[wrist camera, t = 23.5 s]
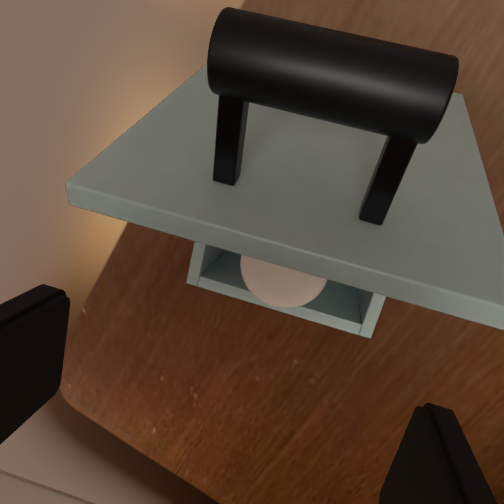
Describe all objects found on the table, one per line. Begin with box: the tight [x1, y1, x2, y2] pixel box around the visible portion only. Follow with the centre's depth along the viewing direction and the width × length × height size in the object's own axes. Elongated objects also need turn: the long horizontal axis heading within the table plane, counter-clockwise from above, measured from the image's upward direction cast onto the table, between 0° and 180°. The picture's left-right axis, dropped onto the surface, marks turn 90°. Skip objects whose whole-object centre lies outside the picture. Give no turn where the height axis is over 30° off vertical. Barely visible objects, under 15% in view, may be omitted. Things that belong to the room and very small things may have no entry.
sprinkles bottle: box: [240, 255, 327, 308], centre depth 27 cm, size 5×4×14 cm
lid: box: [65, 7, 504, 330], centre depth 15 cm, size 15×13×5 cm
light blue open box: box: [186, 241, 386, 338], centre depth 29 cm, size 15×13×9 cm
